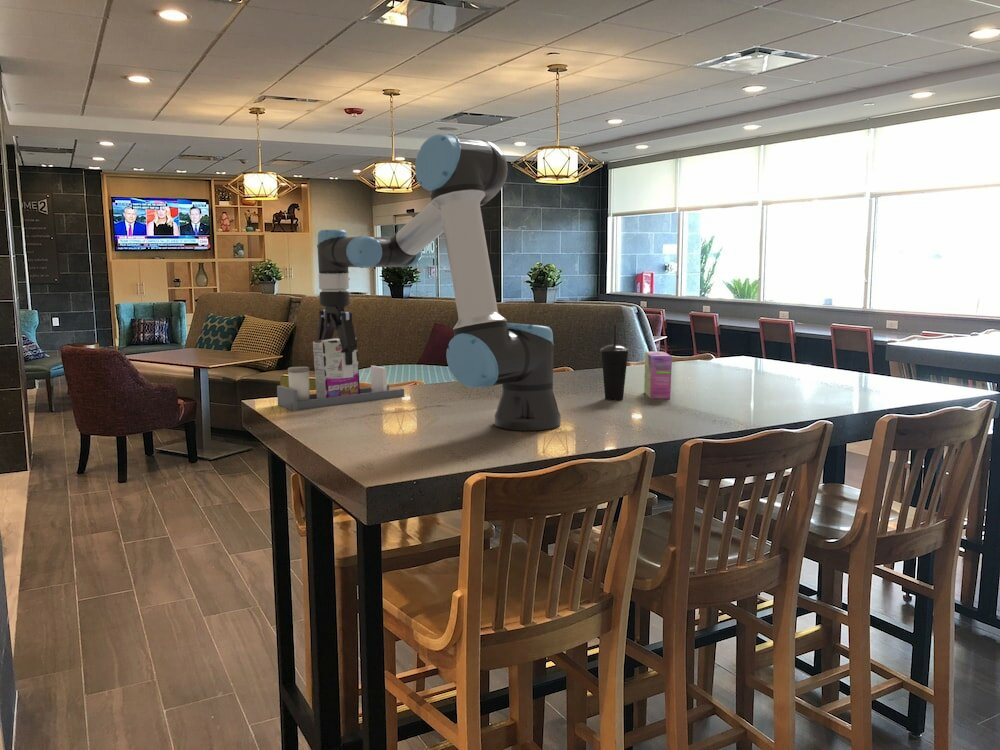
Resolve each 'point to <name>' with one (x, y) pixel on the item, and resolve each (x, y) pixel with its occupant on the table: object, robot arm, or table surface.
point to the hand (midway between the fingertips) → (337, 375)
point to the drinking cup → (614, 369)
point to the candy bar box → (333, 370)
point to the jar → (299, 382)
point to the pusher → (378, 379)
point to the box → (657, 375)
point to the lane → (332, 398)
